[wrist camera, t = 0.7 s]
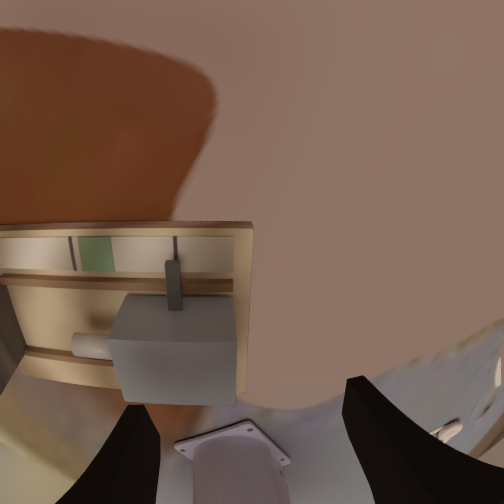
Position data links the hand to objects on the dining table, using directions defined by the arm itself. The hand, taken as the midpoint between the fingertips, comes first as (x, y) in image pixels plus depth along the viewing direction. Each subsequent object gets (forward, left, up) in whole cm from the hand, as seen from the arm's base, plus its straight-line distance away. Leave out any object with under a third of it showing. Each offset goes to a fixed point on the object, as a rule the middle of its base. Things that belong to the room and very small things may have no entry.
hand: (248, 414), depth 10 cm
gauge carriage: (+2, +4, -8) cm, 9 cm away
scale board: (+2, +8, -10) cm, 13 cm away
